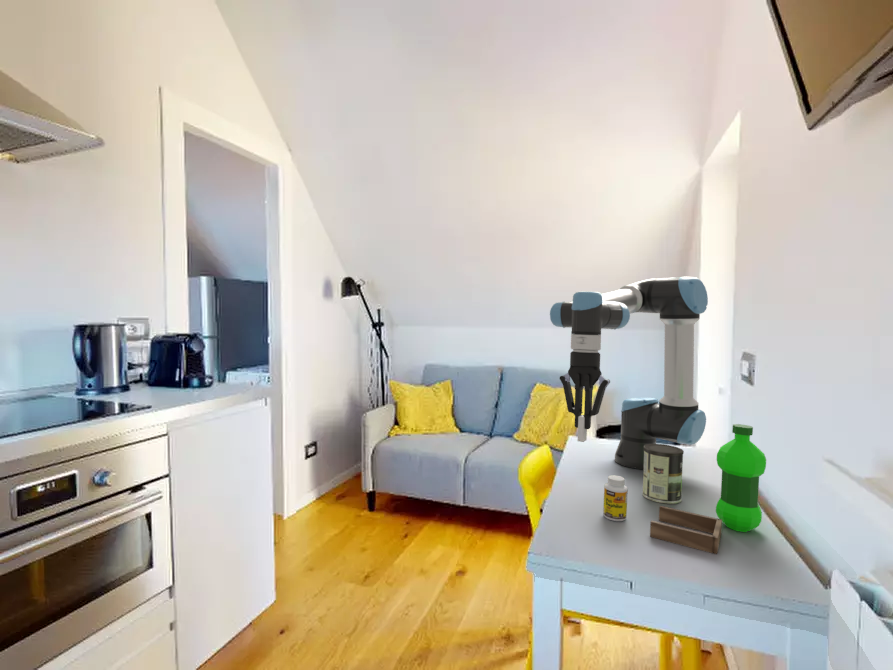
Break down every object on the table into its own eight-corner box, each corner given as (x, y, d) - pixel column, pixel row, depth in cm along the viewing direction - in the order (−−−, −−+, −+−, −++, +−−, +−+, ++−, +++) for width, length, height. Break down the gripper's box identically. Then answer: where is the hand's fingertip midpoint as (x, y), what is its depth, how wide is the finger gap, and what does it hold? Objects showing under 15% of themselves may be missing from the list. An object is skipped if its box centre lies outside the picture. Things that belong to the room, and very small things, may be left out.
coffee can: (675, 492, 138) (677, 444, 138) (686, 505, 128) (688, 454, 128) (638, 489, 140) (640, 442, 140) (646, 502, 130) (648, 451, 130)
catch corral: (659, 519, 119) (660, 505, 119) (721, 534, 111) (722, 519, 111) (649, 536, 109) (650, 521, 109) (717, 554, 101) (717, 538, 101)
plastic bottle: (744, 518, 120) (749, 421, 120) (773, 537, 110) (778, 431, 109) (705, 517, 120) (710, 420, 120) (730, 536, 110) (735, 430, 109)
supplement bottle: (601, 519, 118) (602, 478, 118) (605, 511, 123) (606, 472, 123) (624, 524, 115) (626, 483, 115) (627, 516, 120) (629, 476, 120)
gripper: (556, 350, 123) (553, 439, 124) (606, 353, 116) (603, 447, 117) (566, 349, 130) (563, 434, 130) (614, 352, 122) (611, 442, 123)
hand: (582, 440), depth 123 cm, fingers closed
